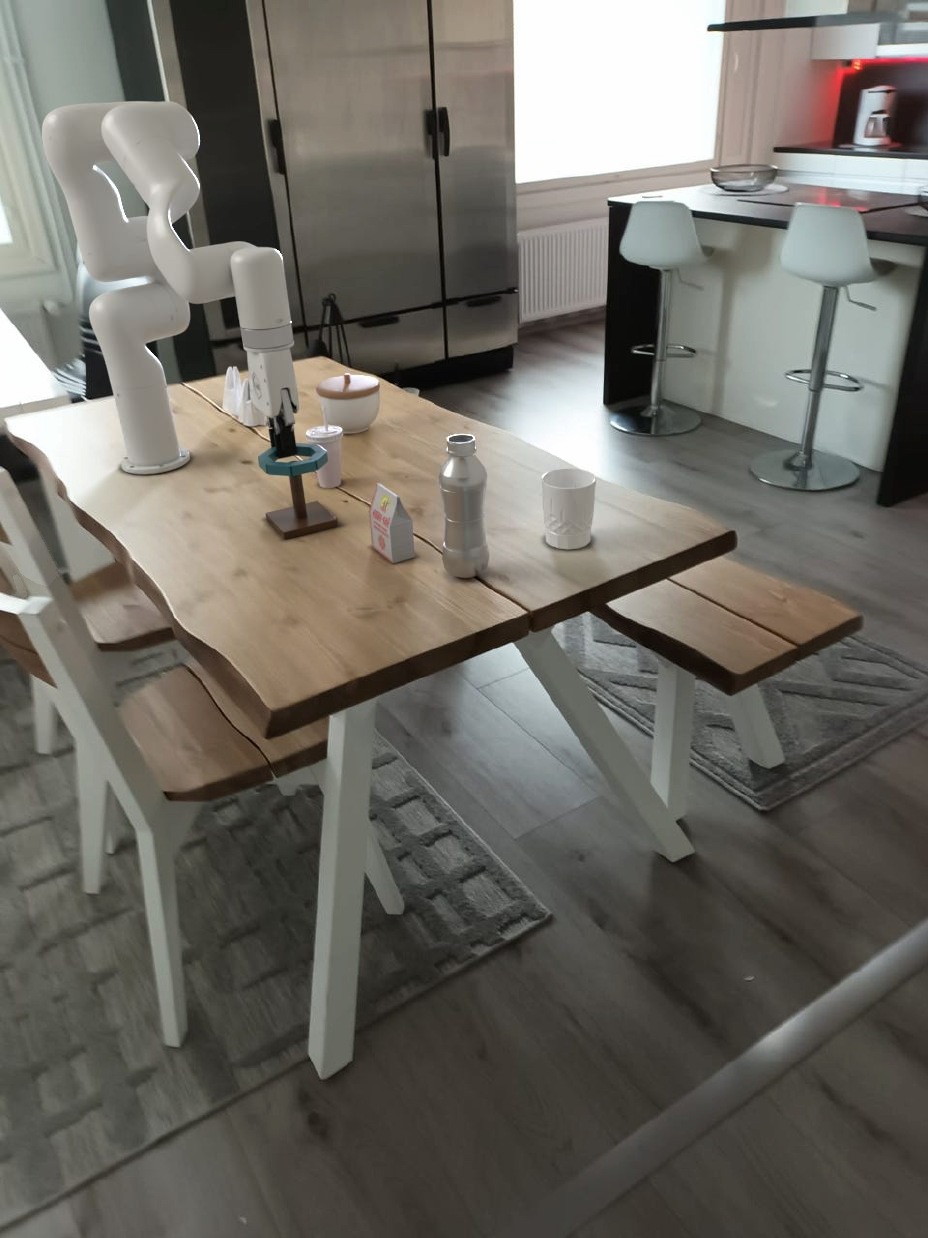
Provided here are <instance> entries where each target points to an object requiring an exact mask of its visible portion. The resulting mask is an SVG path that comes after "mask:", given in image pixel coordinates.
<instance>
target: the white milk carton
mask: <svg viewBox="0 0 928 1238" xmlns="http://www.w3.org/2000/svg"><path fill="white" fill-rule="evenodd" d="M368 516H369V527H370V538H371V546H372V549H374V550H376V551H377V552H378V553H379V554H380V555H381V556H383V557H384V558H385V559H387V560H388V561H389V562H390V563H391V564H396V563H399V562H402V561H407V560H409V559H412V558H416V552H415V540H414V527H413V520H412V518H411V516H410V515H409V513H408V511H407V510H406V508H405V507H404V505H403V502H402V501H401V497H400V496H399V495H397V494H396V493H394V492H393V491H391V490H390V489H388V488H387V487H386V486H384V485H383V484H381V483H380V482H378V483H377V482H376V483H375V490H374V494H373V497H372V501H371V504H370V506H369V510H368Z"/></svg>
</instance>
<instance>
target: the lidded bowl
mask: <svg viewBox="0 0 928 1238" xmlns="http://www.w3.org/2000/svg"><path fill="white" fill-rule="evenodd" d="M380 387H381V386H380V380H379V379H377V378H376V377H373V376H369V375H361V374H350V373H348V372H347V373H343V375H339V376H334V377H329V378H326V379H323V380H321V381H320V382H318V383H316V386H315V392H316V395H317V401H318V407H319V409H320V412H321V415H322V417H323V418H324V416H323V406H326V413H327V421H328V425H330V426H337V427H340V428H341V429H342V432H343V435H345V434H346V435H349V434H350V435H351V434H359V433H364V432H366V431H367V430H369V429H370V427H371V425H372V424H373V423H374V422H375V420H376V418H377V417H378V415H379V414H378V413H379V411H380V404H381V395H380V393H381V392H380Z"/></svg>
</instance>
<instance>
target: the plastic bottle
mask: <svg viewBox="0 0 928 1238" xmlns="http://www.w3.org/2000/svg"><path fill="white" fill-rule="evenodd" d="M446 453H447V455H448V457H447V458H446V460H445V461H444V462H443V464H442V466H441V468H440V471H439V474H438V485H439V488H440V493H441V498H442V503H443V513H444V539H443V540H444V541H443V546H442V554H441V555H442V556H441V560H442V563H443V568H444V569H445V571H446V572H447V573H448V574H449V575H451V576H453V577H456V578H460V579H461V578H463V579H466V578H473V577H477V576H481V575H482V574H483V573H484V572H485V571H486V570H487V568H488V566H489V563H490V551H489V550H490V549H489V545H488V541H487V537H486V536H487V535H486V526H485V513H484V512H485V500H486V499H485V498H486V491H487V483H488V472H487V469H486V467H485V465H484V464H483V463H482V461H481V460H480V459H479V458H478V457H477V456H476V454H475V453H477V446H476V439H475V436H474V435H472V434H466V433H459V434H453V435H450V436H448V437H446Z"/></svg>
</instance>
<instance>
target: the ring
mask: <svg viewBox="0 0 928 1238" xmlns="http://www.w3.org/2000/svg"><path fill="white" fill-rule="evenodd" d="M296 448H297V454H296V455H292V456H288V457H283V458H279V457H277V454H276V447H271V446H270V447H269V448H267V449H266V450H265V451H263V452H262V453H260V455H258V456H257V461H258V467H259V468H260V469H261V470H262V471H263V472H264V473H265V474H266V475H269V476H281V477H282V476H283V477H289V476H296V475H300V474H302V475H304V474H309V473H313V472H316V470H319V469H320V468H321V467H322V466H323V465H325V464H326V463H327V462H328V456H327V451H326V450H325V449H323V448H322V447H321V446H319V445H317V444H309V443H306V442H296ZM295 456H296V457H308V458H306V459H302V460H301V459H300V460H295V461H296V462H292V463H289V462H290V461H278V460H281V459H286V458H291V457H295Z"/></svg>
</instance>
